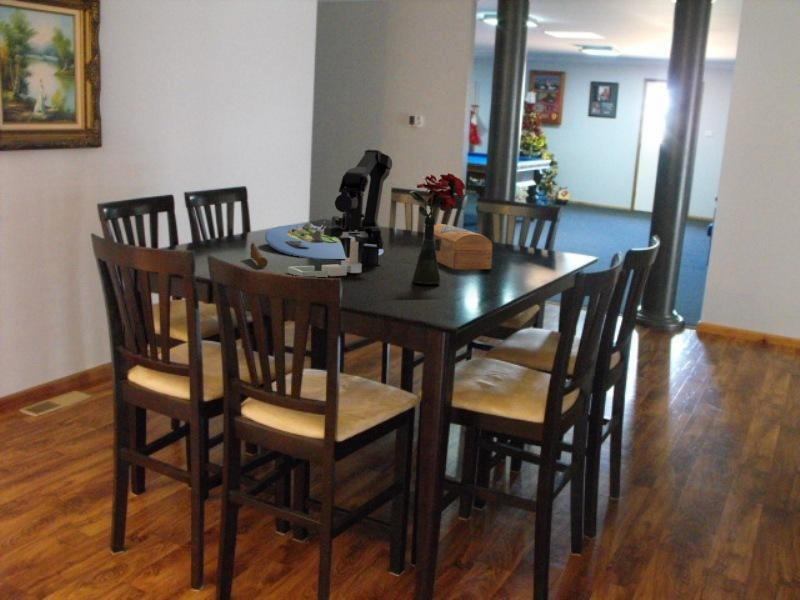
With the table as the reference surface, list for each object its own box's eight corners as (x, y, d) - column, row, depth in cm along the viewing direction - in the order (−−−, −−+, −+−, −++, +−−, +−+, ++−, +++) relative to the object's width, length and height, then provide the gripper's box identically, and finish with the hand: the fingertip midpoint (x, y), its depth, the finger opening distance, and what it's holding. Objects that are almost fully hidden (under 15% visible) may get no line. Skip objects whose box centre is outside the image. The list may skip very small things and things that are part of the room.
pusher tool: (351, 269, 275) (352, 239, 274) (361, 272, 270) (362, 242, 268) (340, 269, 273) (342, 239, 272) (350, 272, 268) (352, 242, 266)
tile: (336, 273, 273) (337, 264, 272) (346, 276, 268) (346, 267, 268) (321, 274, 269) (321, 265, 269) (330, 277, 265) (331, 267, 264)
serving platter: (400, 270, 311) (404, 239, 307) (298, 276, 287) (302, 242, 283) (342, 238, 345) (345, 209, 341) (247, 241, 321) (249, 210, 317)
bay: (313, 271, 271) (313, 265, 270) (327, 277, 261) (327, 271, 261) (287, 272, 266) (288, 266, 266) (301, 278, 257) (302, 272, 256)
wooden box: (418, 259, 316) (420, 223, 313) (457, 259, 322) (460, 224, 319) (449, 272, 288) (452, 233, 286) (491, 272, 294) (494, 233, 291)
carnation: (395, 277, 270) (402, 170, 263) (447, 277, 276) (454, 172, 269) (412, 285, 255) (419, 172, 248) (466, 285, 261) (474, 175, 255)
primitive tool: (251, 257, 289) (242, 256, 287) (253, 242, 287) (243, 241, 286) (267, 268, 272) (257, 268, 270) (269, 252, 271) (259, 252, 269)
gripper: (366, 208, 279) (364, 253, 282) (317, 207, 270) (315, 254, 273) (383, 211, 270) (380, 258, 273) (332, 211, 260) (330, 259, 263)
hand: (351, 257), depth 271 cm, fingers closed on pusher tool, 3 cm apart
